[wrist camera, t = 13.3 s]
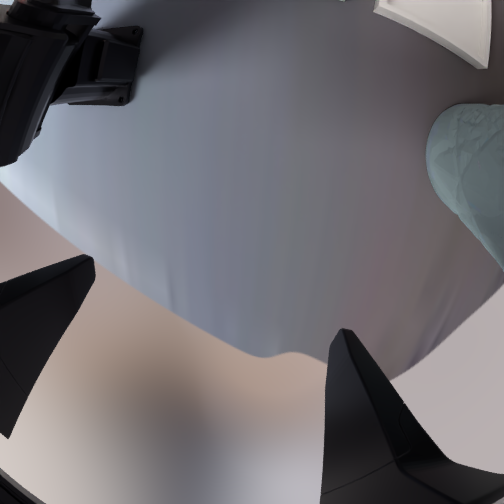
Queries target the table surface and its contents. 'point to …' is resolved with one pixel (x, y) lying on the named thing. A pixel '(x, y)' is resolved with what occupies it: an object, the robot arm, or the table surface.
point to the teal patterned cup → (471, 169)
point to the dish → (446, 24)
